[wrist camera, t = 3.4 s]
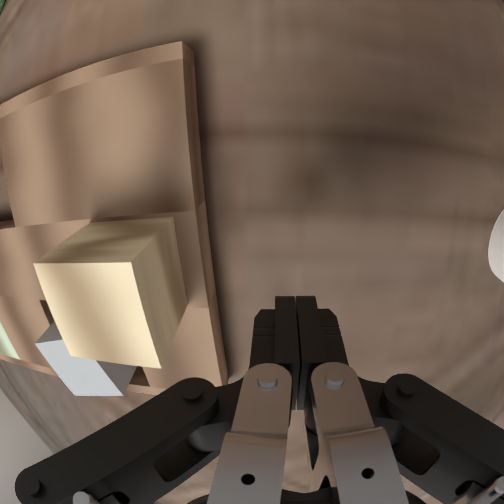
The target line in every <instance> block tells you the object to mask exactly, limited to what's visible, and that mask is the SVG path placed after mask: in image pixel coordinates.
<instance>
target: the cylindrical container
mask: <svg viewBox="0 0 504 504" xmlns="http://www.w3.org/2000/svg"><path fill="white" fill-rule="evenodd" d="M488 259H489V264H490V267H491V270H492V271H493V273H494V274H495V275H496V276H497V277H498V278H499V279H500V280H501V281H502V282H504V209H503V210H502V212H501V213H500V215H499V216H498V218H497V220H496V222H495V224H494V227H493V230H492V232H491V236H490V241H489V248H488Z"/></svg>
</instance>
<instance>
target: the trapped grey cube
mask: <svg viewBox="0 0 504 504" xmlns="http://www.w3.org/2000/svg"><path fill="white" fill-rule="evenodd" d="M35 345H36V346H37V348H38V349H39V350H40V352H41V353H42V355H43V356H44V357H45V359H46V360H47V361H48V363H49V364H50V365H51V367H52V368H53V369H54V371H55V372H56V373H57V374H58V376H59V377H60V378H61V379H62V381H63V382H64V383H65V384H66V386H67V387H68V388H69V389H70V390H71V392H72V393H73V394H74V395H77V396H123V395H124V393H125V391H126V389H127V387H128V385H129V383H130V380H131V378H132V376H133V374H134V372H135V370H136V368H137V366H133V365H125V364H118V363H111V362H104V361H98V360H92V359H86V358H80V357H75V356H71V355H70V353H69V351H68V349H67V347H66V345H65V343H64V341H63V338H62V336H61V334H60V332H59V330H58V327H57V325H56V323H55V321H54V322H53V323H52V324H51V325H50V326H49V327H48V329H47V330H46V331H45V332H44V333H43V334H42V336H41V337H40V338H39V339H38V340H37V341H36V343H35Z"/></svg>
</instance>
